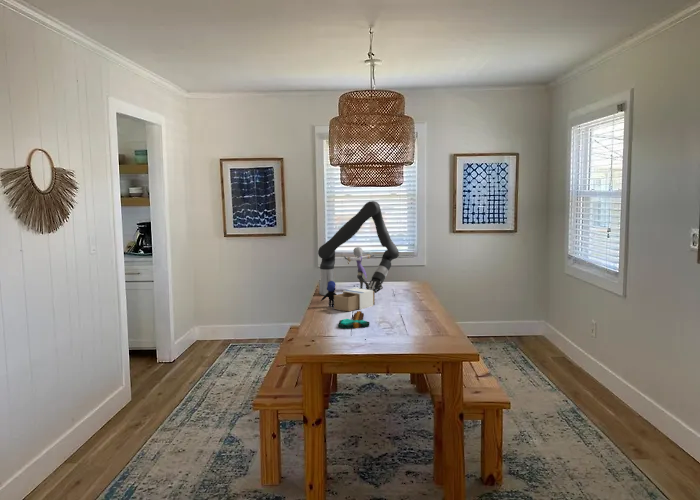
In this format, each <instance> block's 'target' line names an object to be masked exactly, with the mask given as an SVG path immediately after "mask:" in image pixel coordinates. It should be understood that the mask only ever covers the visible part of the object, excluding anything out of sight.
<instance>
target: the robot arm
mask: <svg viewBox="0 0 700 500" xmlns="http://www.w3.org/2000/svg"><path fill="white" fill-rule="evenodd" d="M370 218H371V219H372V220H373V223H374V226H375V230H376V231H375V232H376V234H377V235H376V236H377V238H378V240H379V242H380V245H381V247H383V248H386V250H385V251H384V252H383V254H382V257H381V261H380V263H379V264H378V266H377V268H376V269H375V270H374V272H373V274H372V276H371V279H370V280H369V282H367V283H366V284H365V288H366V289H367V290H373V291H375V294H377V293H378V292H379V291H382V289H383V288H384V286H383V285H382V284H383V283H384V281H385V280H386V277H387V275H388V273H389V272H390V270H391V267H392V261H393V260H395V259H397V258H399V255H400V253H399V248H397V246H396V245H395V243H394V242H393V241H392V238H391V235H390V234H389V232H388V229H387V227H386V223H385V221H384V217H383V214H382V210H381V206H380V203H378V202H377V201H374V200H371V201H368V202H366V203H365V204H364V205H363V206H362V207H361V209H360V210H359V211H358V212H357V213H356V214H355V215H354V216H352V217H351V218H350V219H349V220H348V221H347V222H346V223H345V224H344V225H342V226H341V227H340V228H339V229H338V231H336V233H334V235H333V236H332V237H331V238H330V239H329V240H328V241H326V242H325V243H323V244H322V245H321V246H319V248H318V253H317V255H318V257H319V258H320V259H321V262H320V264H319V274H320V275H319V278H320V279H319V282H318V283H319V287H318V288H319V290H318V291H319V295H321V296H325V294H327V293H328V290H327V286H328V285H327V284H328V282H329V281H334V282H335V263H336V250H337V249H338V248H340V246H342V245H343V244H345V243H346V242H348V241H349V240H350V239H351V238H353V237H354V236H355V235H356V234H357V233H358V231H359V230H360V229H361V228H362V226H363V225H364V224H365V223H366V221H368V220H369V219H370Z"/></svg>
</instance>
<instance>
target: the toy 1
mask: <svg viewBox="0 0 700 500" xmlns="http://www.w3.org/2000/svg"><path fill="white" fill-rule="evenodd" d="M327 285H328V286H327V290H328V293H327V294H325V295H323V297H322V298H321V300H320V302H322V301H324V300H325V299H327V298H328V307H333V308H334V295H338V294H337V293H336V292H335V291H336V289H337V288H336V282H335V280H334V281H329V282H328V284H327Z"/></svg>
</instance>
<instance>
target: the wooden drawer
mask: <svg viewBox="0 0 700 500" xmlns="http://www.w3.org/2000/svg"><path fill="white" fill-rule="evenodd" d="M375 294H376V293H375V291H373V306H374V305H376V304H375V303H376V302H375V300H376V299H375ZM333 309H334V310H336V311H337V310H338V311H341V312H342V311H343V312H351V311H356V310H359V294H353V293H343V292H342V293H338V294H337V295H334V306H333Z"/></svg>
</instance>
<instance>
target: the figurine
mask: <svg viewBox="0 0 700 500" xmlns="http://www.w3.org/2000/svg"><path fill="white" fill-rule="evenodd" d="M364 253H365V251H364V250H363V248H362V247H359V246H356V247H354V249H353V255H354V257H355V258H353V257H351V256H347V257H346V256H343V259H345V260H346V261H347V264H348V265H349V264H350V262H352V261H353V262H354V261H355V262H356V266H357V279H358V281H359V283H360V284H359V285H360V286H359V288H360V289H364V288H363V286H364V285H363V284H365V285H366V283H368V282H367V281H366V280H365V279H367V278H368V275H367V271H366V269H365V268H364V267H365V266H363V265H362V260H363V259H367V260H368V259H370V258H373V257H375V255H374V254H373V255H371V254H370V253H369V254H368V253H367V254H365V255H364ZM363 275H364V277H365V278H364V277H363Z"/></svg>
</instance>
